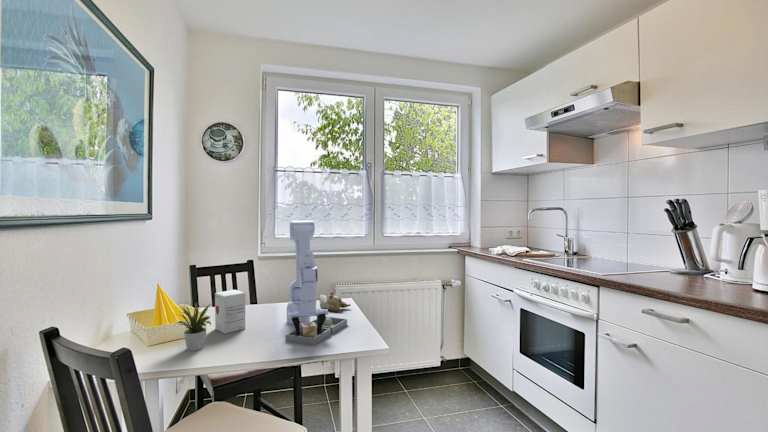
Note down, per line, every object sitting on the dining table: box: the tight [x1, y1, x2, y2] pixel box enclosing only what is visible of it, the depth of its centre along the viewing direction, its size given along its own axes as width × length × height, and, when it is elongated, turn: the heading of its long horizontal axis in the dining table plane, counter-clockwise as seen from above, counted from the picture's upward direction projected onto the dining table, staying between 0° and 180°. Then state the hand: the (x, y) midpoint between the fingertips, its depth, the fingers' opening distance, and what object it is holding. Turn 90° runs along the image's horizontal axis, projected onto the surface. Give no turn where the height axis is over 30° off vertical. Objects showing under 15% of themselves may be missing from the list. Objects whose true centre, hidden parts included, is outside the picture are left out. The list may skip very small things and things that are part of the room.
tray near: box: [284, 326, 332, 347], centre depth 139 cm, size 12×12×3 cm
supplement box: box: [214, 289, 246, 334], centre depth 151 cm, size 9×9×15 cm
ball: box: [323, 316, 332, 327], centre depth 151 cm, size 4×4×4 cm
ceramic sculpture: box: [319, 292, 351, 313], centre depth 179 cm, size 11×9×15 cm
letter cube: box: [300, 322, 317, 338], centre depth 139 cm, size 5×5×5 cm
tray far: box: [309, 315, 348, 335], centre depth 151 cm, size 12×12×3 cm
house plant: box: [175, 301, 212, 352], centre depth 129 cm, size 14×14×16 cm
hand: (308, 335), depth 139 cm, fingers open, 7 cm apart
